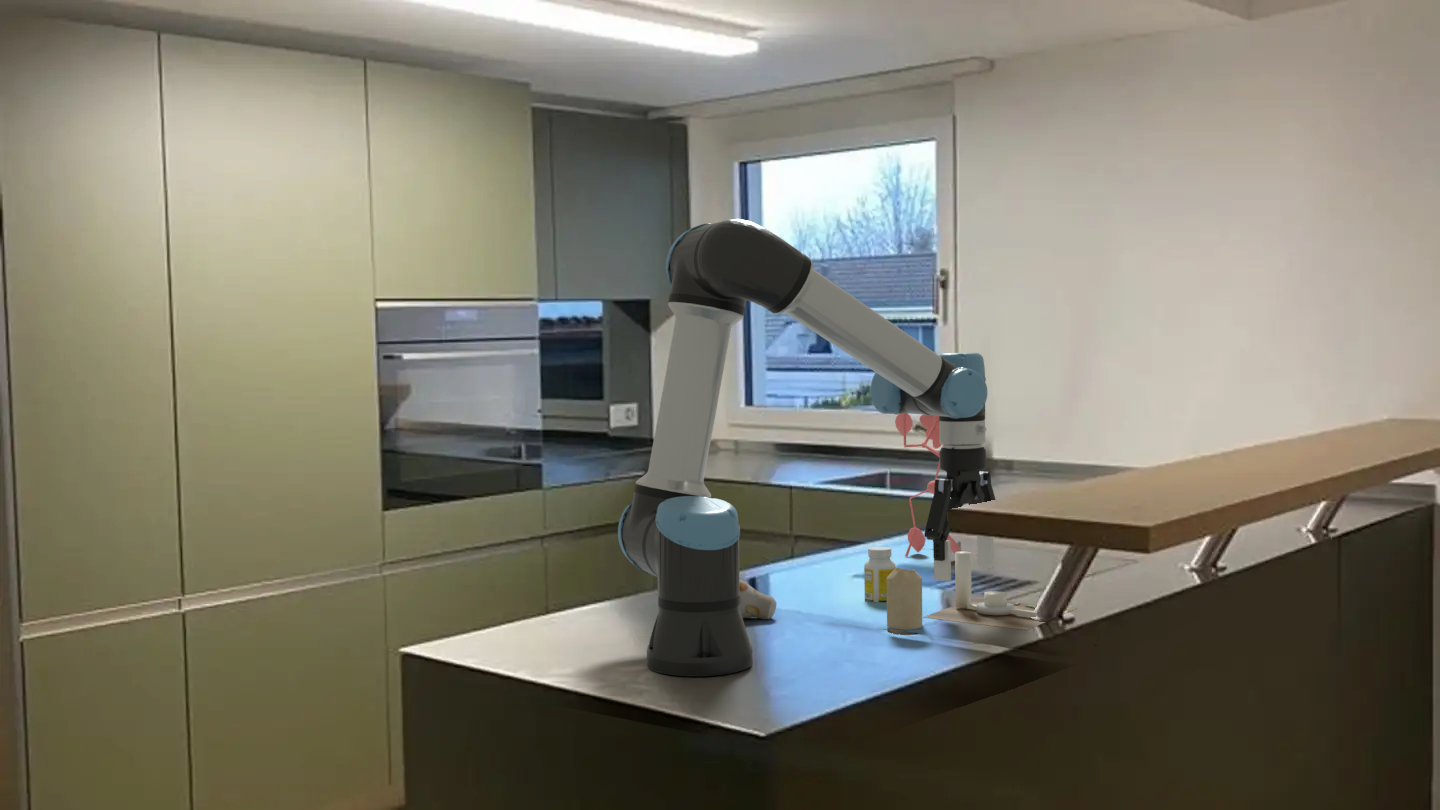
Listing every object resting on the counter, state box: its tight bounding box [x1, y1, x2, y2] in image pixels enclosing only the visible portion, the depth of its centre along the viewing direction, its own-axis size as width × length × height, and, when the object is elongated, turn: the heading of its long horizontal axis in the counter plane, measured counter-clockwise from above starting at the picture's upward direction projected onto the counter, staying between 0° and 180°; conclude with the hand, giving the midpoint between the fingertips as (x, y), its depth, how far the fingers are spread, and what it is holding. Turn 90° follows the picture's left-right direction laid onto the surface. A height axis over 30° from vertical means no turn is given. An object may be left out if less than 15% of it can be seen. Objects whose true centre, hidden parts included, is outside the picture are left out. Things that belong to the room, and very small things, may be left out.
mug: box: [739, 578, 777, 620], centre depth 231 cm, size 8×10×10 cm
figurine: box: [894, 413, 976, 565], centre depth 290 cm, size 15×26×35 cm, turn 35°
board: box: [922, 596, 1078, 631], centre depth 228 cm, size 20×18×1 cm
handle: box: [954, 550, 1037, 617], centre depth 227 cm, size 15×6×9 cm, turn 49°
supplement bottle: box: [863, 546, 897, 603], centre depth 241 cm, size 5×5×10 cm
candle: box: [886, 567, 923, 636], centre depth 219 cm, size 6×6×10 cm
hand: (964, 574), depth 231 cm, fingers open, 13 cm apart
